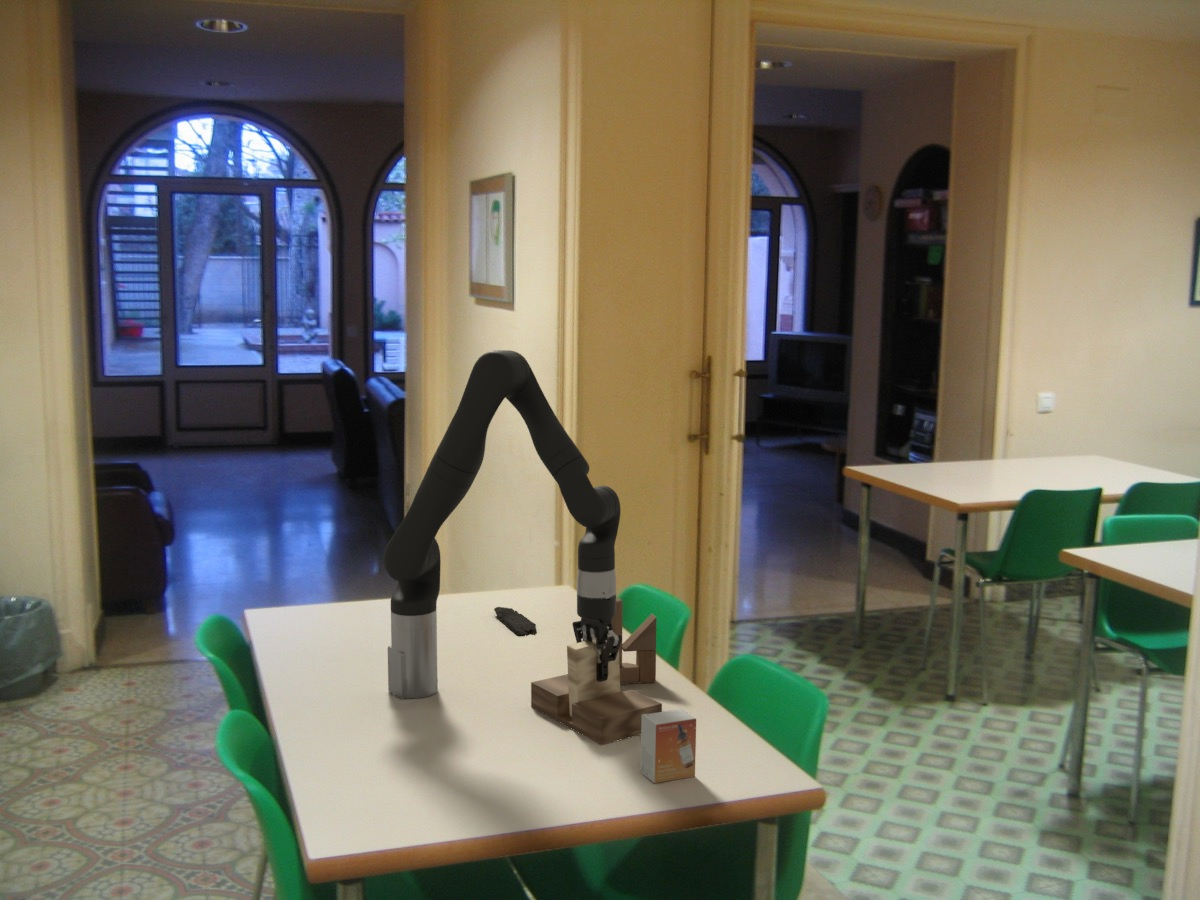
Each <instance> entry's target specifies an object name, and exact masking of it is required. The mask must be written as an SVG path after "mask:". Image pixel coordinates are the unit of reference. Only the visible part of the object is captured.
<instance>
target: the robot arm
mask: <svg viewBox="0 0 1200 900" xmlns="http://www.w3.org/2000/svg"><path fill="white" fill-rule="evenodd" d="M505 399H506V400H507V401H508V402H509V403H510V404H511V405H512V406H513V407H514V408H515V409H516V410H517V412H518V413H519V415H520V417H522V419H523V421H524V424H525V425H526V428H527V429H528V431H529V436H530V438H531V440H532V441H531V442H532V444H533V447H534V449H535V451H536V453H537V456H538V457H539V459H540V460H541V462H542V464H543V465H544V466H545V468H546V469H547V471H548V472H549V474H550V475H551V477H553V480H555V482H556V483H557V485H558V487H559V490H560V494H561V495H562V498H563V500H564V504H565V505H566V508H567V510H568V512H569V513H570V515H571V517H572V518H573V519H574V520H575V521H576V522H577V523H578V524H579V525H581V526H582V527H585V533H584V535H583V537H582V538H581V539H580V540H579V542H578V545H577V576H576V614H577V616H578V617H580V620H578V621H577V620H576V621H573V622H572V628H573V633H574V636H575V640H576V643H579V642H583V641H591V642H593V645H594V651H596V660H597V681H599V682H602V681H606V680H607V679H608V662H609V661H615V660H616V657H617V653H618V650H619V647H620V644H621V641H622V642H623V636H622V637H621V635H616V634H615V633H614V632H613V626H612V622H611V620H612V618H613V617H614V616H615V614H616V598H617V576H616V564H615V563H616V553H615V552H616V551H615V545H616V541H617V540H616V539H617V536H618V530H619V525H620V519H621V503H620V501H621V500H620V498H619V496H618V494H617V492H616V491H615V490H614V489H613V488H611V487H609V486H607V485H597V486H595V487H594V486H593V484H592V483H591V481H590V478H589V477H588V474H589V472H590V465H589V463H588V461H587V460H586V458H585V457H584V455H583V453H582V452H581V450H579V448H578V447H577V445H576V444H575V442H574V441H573V440H572V439H571V437H570V435H569V434H568V432H567V431H566V430H565V428H564V427H563V425H562V424H561V422H560V421H559V418H558V417H557V415H556V414H555V412H554V410H553V408H552V406H551V405H550V403H549V401H548V400H547V397H546V396H545V394H544V392H543V390H542V388H541V386H540V383H539V382H538V379H537V377H536V375H535V374H534V371H533V370H532V367H531V366H530V364H529V362H528V360H527V358H526V357H524V356H523V355H522V354H521V353H519V352H517V351H514V350H507V349H506V350H503V349H501V350H497V349H496V350H491V351H490V350H489V351H487V352H485V353H483V354H482V355H481V356H480V357H478V359H477V360H476V361H475V363H474V364H473V367H472V369H471V372H470V374H469V377H468V380H467V383H466V385H465V388H464V391H463V394H462V396H461V399H460V401H459V404H458V406H457V409H456V411H455V414H454V415H453V417H452V419H451V421H450V423H449V425H448V426H447V429H446V431H445V433H444V435H443V437H442V439H441V441H440V442H439V445H438V446H437V448H436V450H435V453H434V455H433V456H432V458H431V460H430V463H429V464H428V466H427V468H426V472H425V474H424V475H423V478H422V480H421V482H420V485H419V486H418V488H417V490H416V493H415V495H414V498H413V500H412V503H410V506H409V509H408V510H407V512H406V515H405V516H404V518H403V519H402V521H401V522H400V524H399V525H398V527H397V528H396V530H395V532H394V534H393V535H392V536H391V538H390V540H389V541H388V543H387V545H386V547H385V549H384V553H383V561H382V562H383V567H384V569H385V572H386V573H387V575H388V577H390V578H391V579H393V580H394V581H397V585H396V588H395V590H394V592H393V594H392V595H391V598H390V632H391V633H390V634H391V635H390V636H391V638H390V639H391V640H390V641H391V645H388V646H387V681H388V682H387V685H388V688H387V689H388V692H389V693H391V694H393V695H394V694H395V696H396V697H397V696H398V697H397V698H399V699H400V698H401V699H400V700H402V699H403V698H404V699H419V698H420V699H421V698H425V697H429V696H432V695H434V694H436V693H437V692H438V690H439V689H438V682H439V681H438V634H437V633H438V627H437V623H438V622H437V619H438V618H437V616H438V615H437V610H438V609H437V601H438V598H439V595H440V589H441V551H440V550H441V549H440V545H439V543H438V541H437V539H436V536H437V534H438V532H439V530H440V529H441V527H442V525H444V523H445V522H446V521H447V519H448V518H449V517H450V516H451V514H452V513H453V512H454V510H455V509H456V508H457V507H458V506H459V505H460V503H461V502H462V500H463V499H464V498H465V496H466V495H467V493H468V492H469V490H470V489H471V487H472V485H473V483H474V481H475V479H476V477H477V475H478V473H479V471H480V469H481V467H482V464H483V460H484V459H485V457H484V456H485V451H486V443H487V442H486V441H487V434H488V431H489V430H488V429H489V426H490V424H491V422H492V420H493V418H494V416H495V415H496V413H497V412H498V411H497V410H498V409H499V407H500V406H501V404H502V402H504V400H505ZM605 643H606V644H605ZM601 644H605V645H604V646H599V645H601ZM603 650H604V653H603V656H602V655H601V651H603ZM610 653H611V655H610Z"/></svg>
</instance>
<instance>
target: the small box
mask: <svg viewBox="0 0 1200 900" xmlns="http://www.w3.org/2000/svg"><path fill="white" fill-rule="evenodd" d="M696 738H697V718H696V717H695V716H694V715H692V714H691V713H689V712H688V711H686V709H684V708H676V709H672V710H666V711H665V710H664V711H662V712H658V713H651V714H642V717H641V735H640V773H642V774H643V775H644V776H645V777H646V778H647V779H648V780H650V781H651V782H652V783H654V784H658V783H662V782H668V781H674V780H682V779H687V778H688V779H690V778H695V776H696V750H697V749H696V748H697V746H696V744H697V739H696Z"/></svg>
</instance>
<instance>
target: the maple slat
mask: <svg viewBox="0 0 1200 900" xmlns="http://www.w3.org/2000/svg"><path fill="white" fill-rule="evenodd" d="M582 641H583V640H582ZM605 644H606V643H605ZM605 644H601V645H599V646H604V645H605ZM566 653H567V655H566V656H567V674H568V685H569V710H570V716H572V704H573V703H577V702H581V701H585V700H589V699H594V698H598V697H602V696H606V695H610V694H614V693H619V692H621V684H620V665H619V650H618V653H617V657H616V660H615V661H609V662H608V679H607V680H606V681H602V682H599V681H597V660H596V651H594V645H593V642H591V641H583V642H579V643H577V642H576V643H572V644H568V645H566ZM603 653H604V650H603V651H601V655H602V656H603ZM610 655H611V653H610Z"/></svg>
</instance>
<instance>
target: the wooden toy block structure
mask: <svg viewBox="0 0 1200 900" xmlns="http://www.w3.org/2000/svg"><path fill="white" fill-rule="evenodd" d="M623 601H624V600H623V599H621V598H619V597H616V614H615V616H614V617H613V618H612V620H611V622H612V626H613V632H614V633H615V634H616V635H621V637H622V638H623V612H624V611H623V610H624V609H623V604H624V603H623ZM657 618H658V617H656V616H655V614H654V613H651V614H649V616H647V618H646V619H645V620H644V621H643V622H642V623H641V624H640V625H639V626H638V627H637V628H636V629H635V630H634V631H633V633H632V634H630V635H629V637H627V639H625V641H624V642H623V640H622V641H621V644H620V647H619V665H620V685H628V684H627V683H633V684H640V683H639V682H653V683H656V680H657V677H656V675H657ZM623 652H624V653H625V652H636V653H635V655H636V656H635V664H634V663H631V662H623Z"/></svg>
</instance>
